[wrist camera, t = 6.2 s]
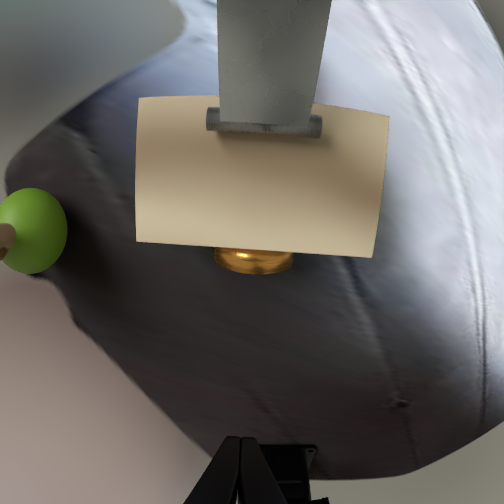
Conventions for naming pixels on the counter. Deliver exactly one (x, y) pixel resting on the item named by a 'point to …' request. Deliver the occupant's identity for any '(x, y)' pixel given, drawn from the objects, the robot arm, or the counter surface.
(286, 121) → the bar
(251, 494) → the robot arm
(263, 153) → the block
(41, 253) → the snail figurine
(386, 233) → the counter surface
